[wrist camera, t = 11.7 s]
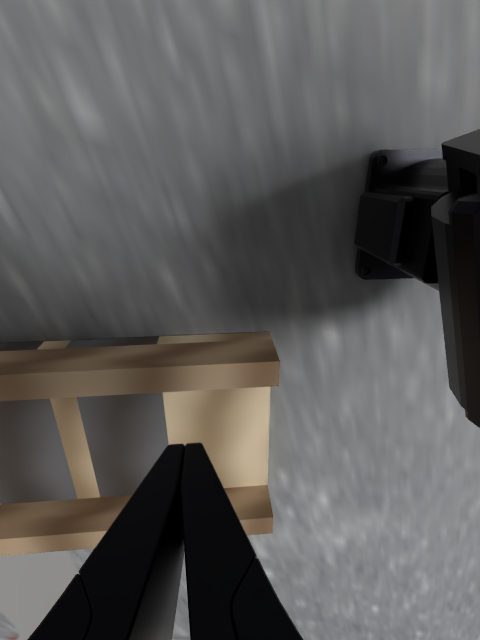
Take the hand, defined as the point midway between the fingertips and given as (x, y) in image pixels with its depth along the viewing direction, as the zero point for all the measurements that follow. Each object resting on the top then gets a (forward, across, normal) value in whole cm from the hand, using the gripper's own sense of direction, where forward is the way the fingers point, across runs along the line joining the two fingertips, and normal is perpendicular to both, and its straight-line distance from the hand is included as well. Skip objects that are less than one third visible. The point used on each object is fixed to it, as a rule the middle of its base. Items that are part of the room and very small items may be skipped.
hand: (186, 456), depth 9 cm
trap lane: (+12, +10, +9) cm, 18 cm away
